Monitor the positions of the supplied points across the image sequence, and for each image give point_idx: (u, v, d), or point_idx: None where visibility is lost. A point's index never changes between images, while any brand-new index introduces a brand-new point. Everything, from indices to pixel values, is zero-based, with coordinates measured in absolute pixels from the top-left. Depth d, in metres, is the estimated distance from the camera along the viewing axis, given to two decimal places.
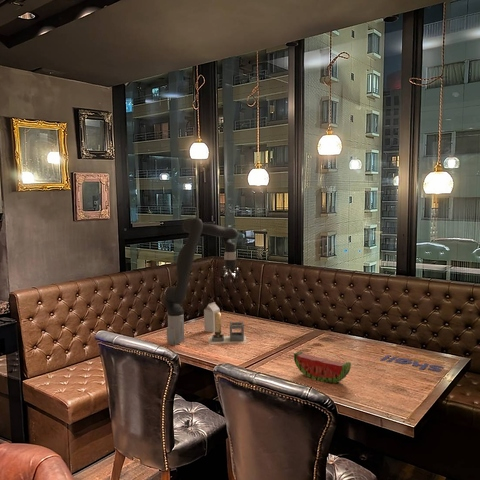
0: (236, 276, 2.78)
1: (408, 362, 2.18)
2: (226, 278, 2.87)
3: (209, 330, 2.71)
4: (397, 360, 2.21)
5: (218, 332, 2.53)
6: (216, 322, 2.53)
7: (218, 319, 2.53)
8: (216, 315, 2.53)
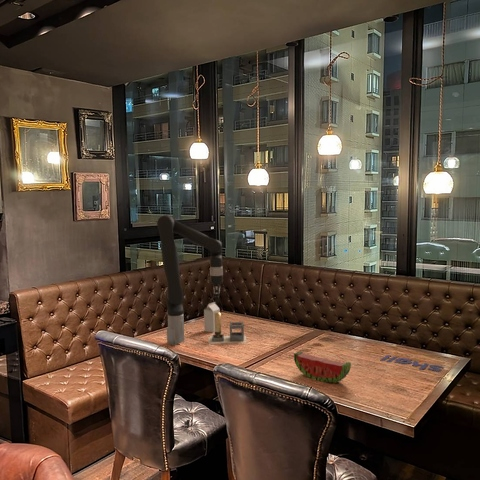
0: None
1: (408, 362, 2.18)
2: None
3: (209, 330, 2.71)
4: (397, 360, 2.21)
5: (218, 332, 2.53)
6: (216, 322, 2.53)
7: (218, 319, 2.53)
8: (216, 315, 2.53)
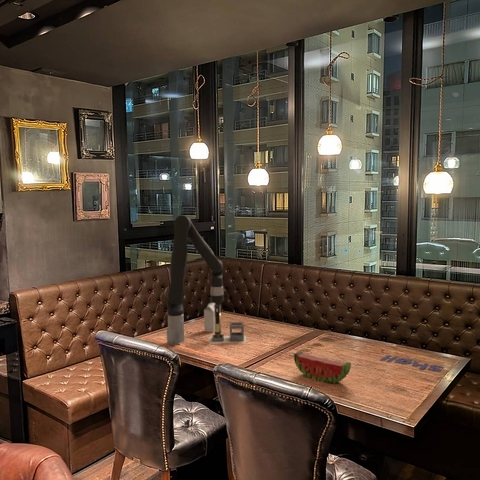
0: None
1: (408, 362, 2.18)
2: None
3: (209, 330, 2.71)
4: (397, 360, 2.21)
5: (218, 332, 2.53)
6: None
7: None
8: None
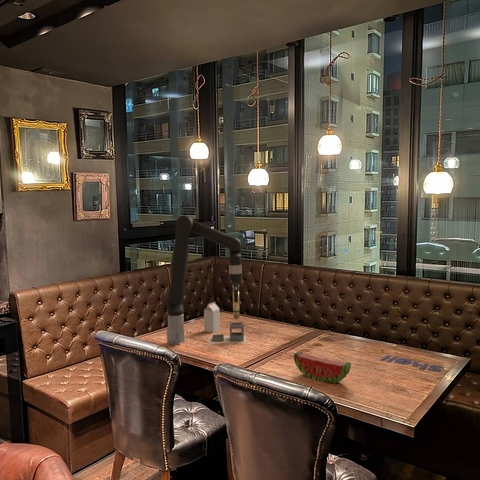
0: None
1: (408, 362, 2.18)
2: None
3: (209, 330, 2.71)
4: (397, 360, 2.21)
5: (236, 311, 2.53)
6: None
7: None
8: None
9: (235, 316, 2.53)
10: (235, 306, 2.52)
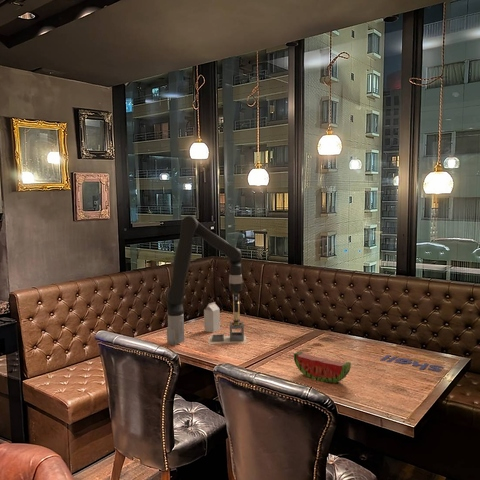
0: None
1: (408, 362, 2.18)
2: None
3: (209, 330, 2.71)
4: (397, 360, 2.21)
5: (237, 320, 2.53)
6: None
7: None
8: None
9: None
10: (235, 316, 2.53)
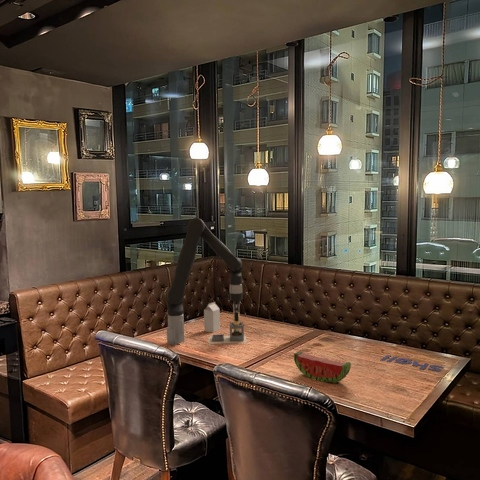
0: None
1: (408, 362, 2.18)
2: None
3: (209, 330, 2.71)
4: (397, 360, 2.21)
5: (237, 331, 2.54)
6: (235, 321, 2.53)
7: None
8: None
9: None
10: None
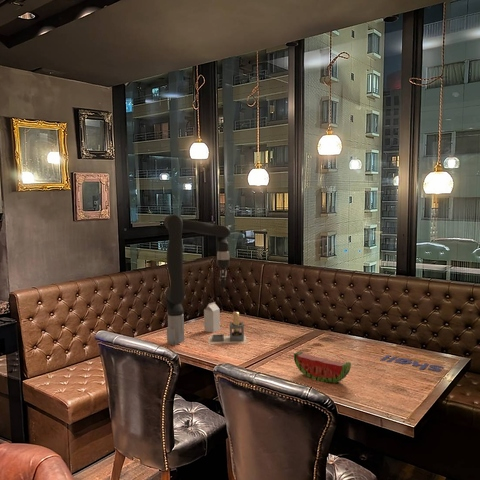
0: None
1: (408, 362, 2.18)
2: None
3: (209, 330, 2.71)
4: (397, 360, 2.21)
5: (237, 332, 2.54)
6: (235, 322, 2.53)
7: (237, 319, 2.53)
8: (235, 315, 2.53)
9: None
10: None
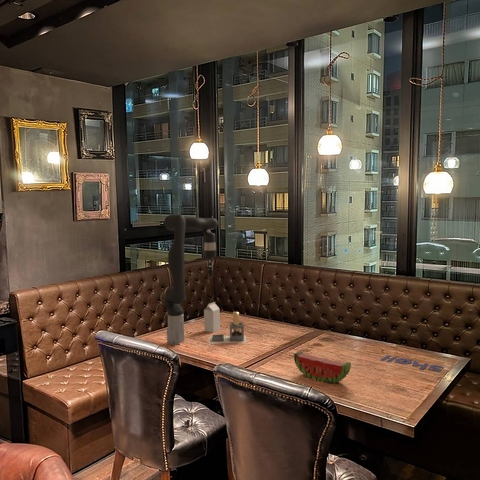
0: None
1: (408, 362, 2.18)
2: None
3: (209, 330, 2.71)
4: (397, 360, 2.21)
5: (237, 332, 2.54)
6: (235, 322, 2.53)
7: (237, 319, 2.53)
8: (234, 315, 2.53)
9: None
10: None
